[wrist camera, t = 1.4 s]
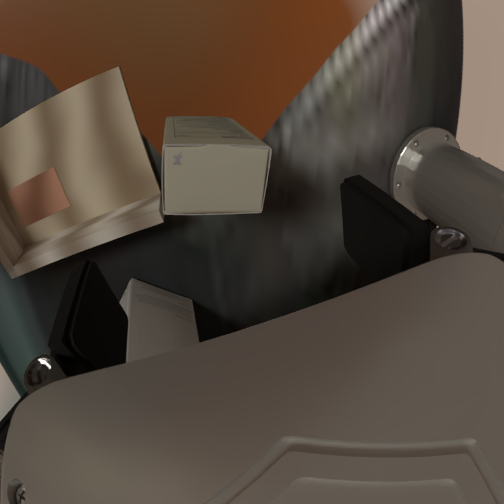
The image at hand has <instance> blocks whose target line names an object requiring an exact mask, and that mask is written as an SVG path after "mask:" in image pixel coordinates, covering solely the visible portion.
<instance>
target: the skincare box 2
mask: <svg viewBox="0 0 504 504" xmlns="http://www.w3.org/2000/svg"><path fill="white" fill-rule="evenodd" d="M271 155H272V149H271V148H270V147H269V146H268V145H267V144H265V143H264V142H263V141H261V140H260V139H258V138H257V137H256V136H255V135H253V134H252V133H251V132H249V131H248V130H247V129H245V128H244V127H242V126H241V125H240V124H238V123H237V122H236V121H234V120H233V119H231V118H223V117H206V116H204V117H203V116H181V117H180V116H179V117H167V118H166V124H165V132H164V141H163V153H162V206H163V213H164V214H166V215H219V214H247V213H261V212H262V210H263V203H264V199H265V193H266V187H267V182H268V175H269V169H270V162H271Z"/></svg>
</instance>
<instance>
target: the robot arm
mask: <svg viewBox="0 0 504 504" xmlns="http://www.w3.org/2000/svg"><path fill="white" fill-rule="evenodd" d="M340 190H341V203H342V217H343V234H344V246H345V249H346V251H347V253H348V254H349V255H350V256H351V257H352V258H353V260H354V261H355V262H356V263H357V264H358V266H359V267H360V268H361V269H362V270H363V271H364V273H365V274H366V275H367V276H368V277H369V279H370V280H371V281H372V282H373V284H370V285H367V286H365V287H362V288H360V289H357V290H355V291H352V292H349V293H347V294H344V295H341V296H339V297H336V298H333V299H330V300H328V301H325V302H322V303H320V304H317V305H314V306H311V307H308V308H306V309H303V310H300V311H297V312H294V313H291V314H288V315H285V316H282V317H280V318H277V319H274V320H271V321H268V322H265V323H262V324H258V325H255V326H252V327H249V328H246V329H243V330H240V331H237V332H234V333H230V334H227V335H224V336H221V337H217V338H214V339H211V340H207V341H204V342H201V343H197V344H194V345H190V346H187V347H183V348H180V349H176V350H173V351H169V352H165V353H162V354H158V355H154V356H151V357H147V358H143V359H139V360H136V361H132V362H128V363H126V353H127V336H128V317H127V314H126V312H125V311H124V309H123V308H122V306H121V305H120V303H119V301H118V300H117V298H116V297H115V295H114V293H113V292H112V290H111V288H110V287H109V285H108V283H107V282H106V280H105V278H104V277H103V275H102V273H101V272H100V270H99V268H98V266H97V265H96V263H95V262H92V263H91V262H90V261H89V260H86V261H83V262H80V263H78V264H75V265H74V267H73V269H72V272H71V275H70V277H69V280H68V283H67V286H66V288H65V291H64V294H63V297H62V300H61V303H60V306H59V309H58V312H57V315H56V319H55V322H54V325H53V328H52V332H51V335H50V339H49V343H48V347H49V348H50V349H51V353H50V355H49V354H42V355H40V356H38V357H36V358H35V359H33V360H32V361H31V363H30V364H29V365H28V367H27V368H26V370H25V373H24V376H23V382H24V386H25V388H26V390H27V392H26V393H25V394H24V395H23V396H22V397H21V398H20V400H19V401H18V402H17V403H16V404H15V405H14V406H13V407H12V409H11V410H10V411H9V412H8V414H7V415H6V416H5V417H4V418H3V419H2V420H1V421H0V504H504V171H502V170H500V169H498V168H496V167H494V166H493V165H490V164H489V163H487V162H485V161H483V160H482V159H481V158H477V157H475V156H473V155H471V154H469V153H467V152H464V151H462V150H460V147H459V144H458V142H457V141H456V139H455V138H454V137H453V135H452V134H451V133H449V132H448V131H446V130H444V129H441V128H439V127H433V126H429V127H423V128H421V129H419V130H417V131H415V132H414V133H412V134H411V135H410V136H409V137H408V138H407V139H406V140H405V141H404V142H403V144H402V145H401V147H400V148H399V150H398V152H397V154H396V156H395V158H394V161H393V164H392V167H391V173H390V193H391V196H390V195H388V194H387V193H385V192H384V191H382V190H381V189H380V188H378V187H377V186H375V185H374V184H372V183H371V182H369V181H368V180H366V179H365V178H363V177H362V176H360V175H356V176H352V177H348V178H345V179H344V183H341V185H340ZM426 219H430V220H431V221H432V222H434V223H435V224H436V225H437V226H439V227H438V228H436V229H434V230H433V231H432V232H430V231H429V230H428V229H427V226H428V224H427V223H426V222H425V221H423V220H426Z"/></svg>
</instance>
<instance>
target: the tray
mask: <svg viewBox="0 0 504 504" xmlns="http://www.w3.org/2000/svg"><path fill="white" fill-rule="evenodd" d="M163 222H164V213H163V206H162V192H161V190H160V187H159V184H158V181H157V179H156V176H155V173H154V170H153V167H152V165H151V162H150V159H149V156H148V153H147V150H146V147H145V144H144V141H143V138H142V135H141V132H140V130H139V127H138V123H137V120H136V117H135V114H134V111H133V108H132V105H131V101H130V98H129V95H128V92H127V88H126V85H125V82H124V78H123V75H122V72H121V68H120V67H117V68H114V69H112V70H109V71H107V72H104V73H102V74H100V75H97V76H95V77H93V78H90V79H88V80H86V81H84V82H82V83H80V84H78V85H75V86H73V87H71V88H69V89H67V90H65V91H63V92H61V93H59V94H57V95H56V96H54V97H52V98H50V99H48V100H46V101H44V102H43V103H41V104H39V105H37V106H36V107H34V108H32V109H30V110H29V111H27V112H25V113H24V114H22V115H20V116H19V117H17V118H16V119H14V120H12V121H11V122H9V123H8V124H6V125H5V126H3V127H2V128H0V261H1V263H2V264H3V266H4V268H5V269H6V271H7V272H8V274H9V275H10V277H11V278H12V279H13V278H16V277H18V276H20V275H23V274H25V273H28V272H30V271H33V270H35V269H37V268H40V267H42V266H45V265H47V264H50V263H53V262H55V261H58V260H60V259H63V258H65V257H68V256H71V255H73V254H76V253H78V252H81V251H84V250H86V249H89V248H92V247H95V246H97V245H100V244H103V243H106V242H108V241H111V240H114V239H117V238H119V237H122V236H125V235H128V234H131V233H134V232H137V231H139V230H142V229H145V228H148V227H151V226H154V225H157V224H160V223H163Z"/></svg>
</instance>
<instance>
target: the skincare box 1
mask: <svg viewBox="0 0 504 504" xmlns="http://www.w3.org/2000/svg"><path fill="white" fill-rule="evenodd" d="M120 305H121V306H122V308H123V309H124V311H125V312H126V314H127V317H128V336H127V353H126V363H128V362H132V361H136V360H139V359H143V358H147V357H151V356H154V355H158V354H162V353H165V352H169V351H173V350H176V349H180V348H183V347H187V346H190V345H194V344H197V343H199V338H198V332H197V327H196V320H195V314H194V308H193V302H192V299H189V298H186V297H183V296H180V295H177V294H175V293H172V292H169V291H166V290H164V289H161V288H158V287H156V286H153V285H150V284H148V283H145V282H142V281H140V280H137V279H134V278H132V279H131V280H130V282H129V284H128V286H127V288H126V290H125V292H124V294H123V296H122V298H121V300H120Z"/></svg>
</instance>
